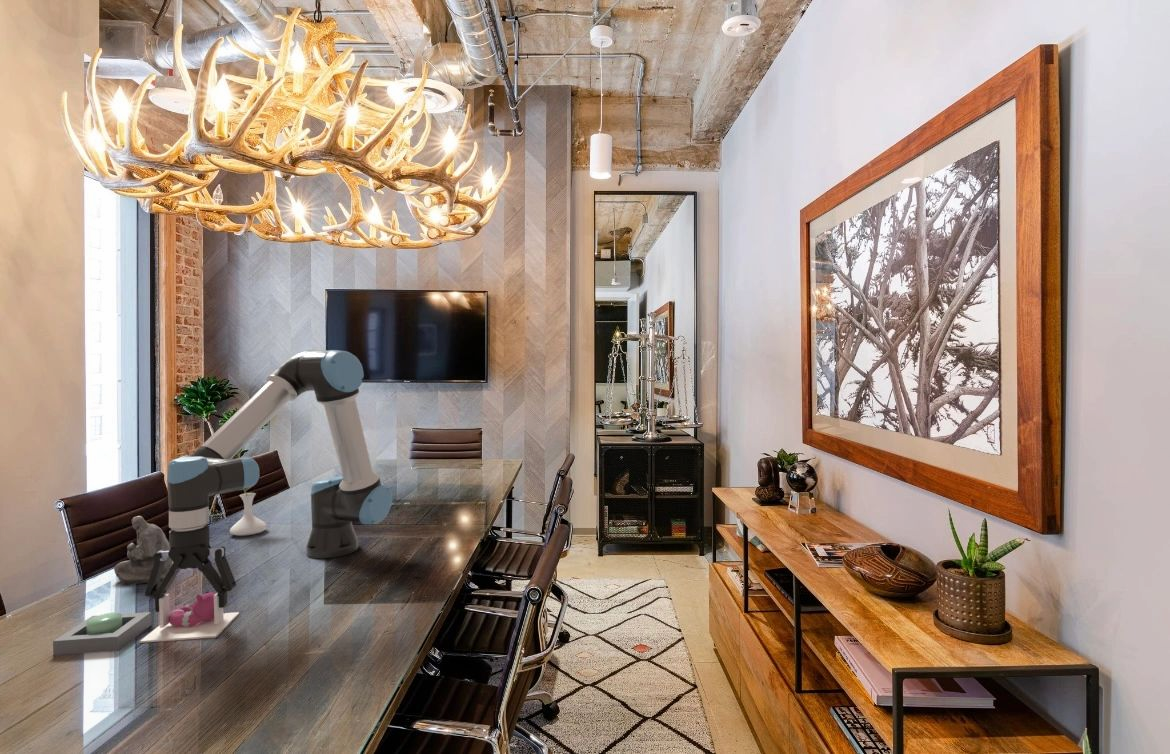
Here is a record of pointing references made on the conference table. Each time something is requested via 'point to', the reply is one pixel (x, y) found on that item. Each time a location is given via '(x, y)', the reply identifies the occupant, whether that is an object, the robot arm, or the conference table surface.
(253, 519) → the flower in vase
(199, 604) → the toy
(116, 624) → the button
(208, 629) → the paper sheet
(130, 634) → the button housing
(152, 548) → the figurine
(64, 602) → the conference table surface
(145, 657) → the conference table surface
